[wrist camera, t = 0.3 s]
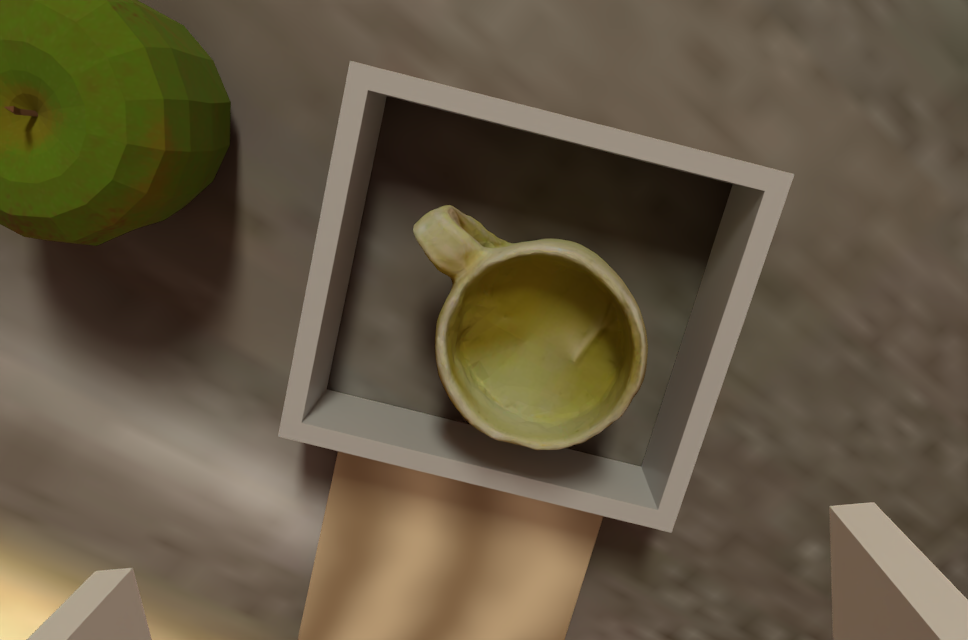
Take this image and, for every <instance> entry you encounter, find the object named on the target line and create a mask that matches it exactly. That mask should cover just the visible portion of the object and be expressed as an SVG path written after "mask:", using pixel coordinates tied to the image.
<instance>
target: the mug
mask: <svg viewBox="0 0 968 640" xmlns="http://www.w3.org/2000/svg"><path fill="white" fill-rule="evenodd" d="M413 233H414V235H415V237H416V240H417V241H418V243H419V245H420V246H421V247H422V249H423V250H424V252H425V254H426V255H427V257H428V258H429V260H430V261H431V262H432V263H433V264H434V266H435V267H436V268H437V269H438V270H439V271H440V272H442V273H444V274H446V275H448V276H449V277H450V278H451V279H452V284H453V286H452V289H451V292H450V294H449V295H448V297H447V299H446V301H445V303H444V305H443V307H442V309H441V312H440V314H439V317H438V320H437V324H436V334H435V356H436V363H437V369H438V374H439V377H440V379H441V382H442V384H443V386H444V388H445V391H446V393H447V395H448V396H449V398H450V400H451V402H452V403H453V405H454V406H455V407H456V409H457V410H458V411H459V412H460V413H461V415H462V416H463V417H464V418H465V419H466V420H467V421H468V422H469V423H470V424H471V425H472V426H473V427H475V428H476V429H477V430H479V431H480V432H482V433H484V434H486V435H487V436H489V437H491V438H493V439H495V440H498V441H504V442H508V443H513V444H517V445H521V446H525V447H529V448H532V449H535V450H559V449H563V448H566V447H570V446H572V445H576V444H580V443H583V442H585V441H587V440H588V439H590V438H592V437H593V436H595V435H597V434H599V433H600V432H602V431H603V430H604V429H605V428H607V427H608V426H610V425H611V424H612V423H613V422H614V421H616V420H617V419H619V418H620V417H621V416H622V415H623V413H624V412H625V411H626V409H627V408H628V406H629V405H630V403H631V401H632V399H633V397H634V396H635V395H636V394H637V392H638V391H639V389H640V387H641V385H642V382H643V380H644V376H645V371H646V365H647V352H648V344H647V335H646V329H645V325H644V322H643V318H642V315H641V312H640V309H639V307H638V305H637V303H636V301H635V299H634V297H633V296H632V294H631V293H630V291H629V289H628V288H627V286H626V285H625V283H624V282H623V280H622V279H621V278H620V277H619V276H618V274H617V273H616V272H615V271H614V270H613V269H612V268H611V267H610V266H609V265H608V264H607V263H606V262H605V261H604V260H603V259H602V258H600V257H599V256H598V255H597V254H596V253H594V252H593V251H591V250H589V249H588V248H586V247H584V246H582V245H580V244H578V243H576V242H572V241H568V240H562V239H553V238H549V239H540V240H534V241H526V242H520V243H508V242H506V241H504V240H502V239H500V238H497V237H496V236H495V235H494V234H493V233H491V232H489V231H487V230H486V229H485V228H484V227H483V225H482V224H481V223H480V222H478V221H477V220H475V219H474V218H472V217H471V216H467V215H465V214H463V213H462V212H460V211H459V210H458V209H456V208H454V207H453V206H451V205H446V206H442V207H440V208H438V209H435V210H431V211H430V212H428V213H427V214H425V215H424V216H423V217H422V218H421V219H420V220H419V221H418V222H417V223H416V224H415V225H414V229H413Z"/></svg>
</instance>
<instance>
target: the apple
mask: <svg viewBox="0 0 968 640" xmlns="http://www.w3.org/2000/svg"><path fill="white" fill-rule="evenodd" d="M230 106H231V102H230V100H229V97H228V95H227V92H226V90H225V88H224V85H223V83H222V81H221V78H220V76H219V74H218V71H217V69H216V66H215V64H214V62H213V60H212V59H211V58H210V56H209V55H208V54H207V53H206V52H205V50H204V49H203V48H202V47H201V46H200V45H199V43H198V42H197V41H196V40H195V39H194V37H193V36H192V35H191V34H190V33H189V31H188V30H187V29H186V28H185V27H184V26H183V25H181V24H180V23H178V22H176V21H174V20H172V19H170V18H169V17H167V16H165V15H163V14H161V13H159V12H158V11H156V10H154V9H152V8H150V7H148V6H147V5H145V4H143V3H141V2H139V1H138V0H0V224H1V225H3V226H5V227H7V228H9V229H11V230H12V231H14V232H16V233H18V234H20V235H22V236H24V237H29V238H35V239H41V240H48V241H57V242H66V243H75V244H85V245H94V246H97V245H99V244H102V243H104V242H106V241H109V240H111V239H113V238H116V237H118V236H120V235H123V234H125V233H127V232H130V231H132V230H134V229H137V228H140V227H143V226H147V225H150V224H153V223H156V222H160V221H163V220H165V219H167V218H168V217H170V216H171V215H173V214H174V213H176V212H177V211H179V210H180V209H182V208H184V207H185V206H186V205H187V204H188V203H189V202H190V201H192V200H193V199H194V198H195V197H196V196H197V195H198V194H199V193H200V192H201V191H203V190H204V189H205V188H206V187H207V186H208V185H209V184H210V183H211V182H213V180H214V178H215V175H216V173H217V171H218V169H219V167H220V165H221V163H222V160H223V158H224V156H225V154H226V152H227V150H228V148H229V145H230Z"/></svg>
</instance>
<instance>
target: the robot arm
mask: <svg viewBox="0 0 968 640" xmlns="http://www.w3.org/2000/svg"><path fill="white" fill-rule="evenodd" d="M830 544H831V582H832V621H833V640H968V600H967V599H966V598H965V597H964V596H963V595H962V594H961V592H960V591H959V590H958V589H957V588H956V587H955V586H954V585H953V584H952V583H951V582H950V581H949V580H948V579H947V578H946V577H945V576H944V575H943V574H942V573H941V572H940V571H939V570H938V569H937V568H936V567H935V565H934V564H933V563H932V562H931V561H930V560H929V559H928V558H927V557H926V556H925V555H924V554H923V553H922V552H921V551H920V550H919V549H918V548H917V547H916V546H915V545H914V544H913V543H912V542H911V541H910V540H909V538H908V537H907V536H906V535H905V534H904V533H903V532H902V531H901V530H900V529H899V528H898V527H897V526H896V525H895V524H894V523H893V522H892V521H891V520H890V519H889V518H888V517H887V516H886V515H885V514H884V512H883V511H882V510H881V509H880V508H879V507H878V506H877V505H876V504H875V503H874V502H871V503H860V504H849V505H837V506H830ZM27 640H152V639H151V635H150V632H149V628H148V624H147V620H146V616H145V613H144V609H143V605H142V601H141V597H140V593H139V590H138V586H137V582H136V578H135V574H134V571H133V568H125V569H114V570H103V571H95V572H94V573H93V574H92V575H91V576H90V577H89V578H88V579H87V580H86V581H85V582H84V583H83V584H82V585H81V586H80V587H79V588H78V589H77V590H76V591H75V592H74V593H73V594H72V595H71V596H70V597H69V598H68V599H67V600H66V601H65V602H64V603H63V604H62V605H61V606H60V607H59V608H58V609H57V610H56V611H55V612H54V613H53V614H52V615H51V616H50V617H49V618H48V619H47V620H46V621H45V622H44V623H43V624H42V625H41V626H40V627H39V628H38V629H37V630H36V631H35V632H34V633H33V634H32V635H31V636H30V637H29V638H28V639H27Z"/></svg>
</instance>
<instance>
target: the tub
mask: <svg viewBox="0 0 968 640" xmlns="http://www.w3.org/2000/svg"><path fill="white" fill-rule="evenodd" d="M387 96H388V97H392V98H396V99H400V100H404V101H408V102H411V103H415V104H419V105H423V106H427V107H431V108H435V109H439V110H443V111H447V112H451V113H455V114H459V115H463V116H466V117H470V118H474V119H478V120H482V121H486V122H490V123H494V124H498V125H502V126H506V127H510V128H514V129H518V130H521V131H525V132H529V133H533V134H537V135H541V136H545V137H549V138H553V139H557V140H561V141H565V142H569V143H573V144H576V145H580V146H584V147H588V148H592V149H596V150H600V151H604V152H608V153H612V154H616V155H620V156H624V157H628V158H631V159H635V160H639V161H643V162H647V163H651V164H655V165H659V166H663V167H667V168H671V169H675V170H679V171H683V172H686V173H690V174H694V175H698V176H702V177H706V178H710V179H714V180H718V181H722V182H726V183H730V184H733V185H732V188H731V191H730V194H729V197H728V200H727V203H726V206H725V209H724V213H723V216H722V219H721V222H720V225H719V228H718V231H717V234H716V237H715V240H714V243H713V247H712V250H711V253H710V256H709V259H708V262H707V265H706V268H705V271H704V274H703V277H702V280H701V284H700V287H699V290H698V293H697V296H696V299H695V302H694V305H693V308H692V311H691V314H690V318H689V321H688V324H687V327H686V330H685V333H684V336H683V339H682V342H681V345H680V348H679V351H678V355H677V358H676V361H675V364H674V367H673V370H672V373H671V376H670V379H669V382H668V385H667V388H666V392H665V395H664V398H663V401H662V404H661V407H660V410H659V413H658V416H657V419H656V422H655V426H654V429H653V432H652V435H651V438H650V441H649V444H648V447H647V450H646V453H645V456H644V459H643V463H642V466H641V467H640V466H636V465H632V464H628V463H624V462H620V461H616V460H612V459H608V458H604V457H599V456H595V455H591V454H587V453H583V452H579V451H575V450H571V449H567V448H563V449H559V450H535V449H532V448H529V447H525V446H521V445H517V444H513V443H508V442H504V441H498V440H495V439H493V438H491V437H489V436H487V435H486V434H484V433H482V432H480V431H479V430H477V429H476V428H475V427H473V426H472V425H470V424H466V423H461V422H457V421H453V420H449V419H445V418H441V417H437V416H433V415H429V414H425V413H421V412H417V411H413V410H409V409H405V408H401V407H396V406H392V405H388V404H384V403H380V402H376V401H372V400H368V399H364V398H360V397H356V396H352V395H348V394H344V393H340V392H336V391H332V390H327V385H328V380H329V376H330V371H331V366H332V361H333V356H334V351H335V346H336V341H337V337H338V332H339V327H340V322H341V317H342V312H343V307H344V303H345V298H346V293H347V288H348V283H349V278H350V273H351V268H352V264H353V259H354V254H355V249H356V244H357V239H358V234H359V230H360V225H361V220H362V215H363V210H364V205H365V200H366V195H367V191H368V186H369V181H370V176H371V171H372V166H373V161H374V157H375V152H376V147H377V142H378V137H379V132H380V127H381V123H382V118H383V113H384V108H385V103H386V98H387ZM793 177H794V174H792V173H788V172H784V171H780V170H776V169H772V168H768V167H764V166H760V165H756V164H752V163H749V162H745V161H741V160H737V159H733V158H729V157H725V156H721V155H717V154H713V153H709V152H705V151H702V150H698V149H694V148H690V147H686V146H682V145H678V144H674V143H670V142H666V141H662V140H658V139H654V138H651V137H647V136H643V135H639V134H635V133H631V132H627V131H623V130H619V129H615V128H611V127H607V126H604V125H600V124H596V123H592V122H588V121H584V120H580V119H576V118H572V117H568V116H564V115H560V114H557V113H553V112H549V111H545V110H541V109H537V108H533V107H529V106H525V105H521V104H517V103H513V102H510V101H506V100H502V99H498V98H494V97H490V96H486V95H482V94H478V93H474V92H470V91H466V90H462V89H459V88H455V87H451V86H447V85H443V84H439V83H435V82H431V81H427V80H423V79H419V78H415V77H412V76H408V75H404V74H400V73H396V72H392V71H388V70H384V69H380V68H376V67H372V66H368V65H365V64H361V63H357V62H353V61H350V64H349V69H348V74H347V79H346V85H345V90H344V95H343V100H342V106H341V111H340V116H339V121H338V126H337V132H336V137H335V142H334V147H333V152H332V158H331V163H330V168H329V173H328V179H327V184H326V189H325V194H324V199H323V205H322V210H321V215H320V220H319V225H318V231H317V236H316V241H315V246H314V252H313V257H312V262H311V267H310V272H309V278H308V283H307V288H306V293H305V299H304V304H303V309H302V314H301V319H300V325H299V330H298V335H297V340H296V345H295V351H294V356H293V361H292V366H291V372H290V377H289V382H288V387H287V392H286V398H285V403H284V408H283V413H282V419H281V424H280V429H279V434H278V437H282V438H287V439H291V440H295V441H299V442H303V443H307V444H311V445H315V446H319V447H323V448H327V449H331V450H336V451H340V452H344V453H348V454H352V455H356V456H360V457H364V458H368V459H372V460H376V461H381V462H385V463H389V464H393V465H397V466H401V467H405V468H409V469H413V470H417V471H421V472H425V473H430V474H434V475H438V476H442V477H446V478H450V479H454V480H458V481H462V482H466V483H470V484H474V485H479V486H483V487H487V488H491V489H495V490H499V491H503V492H507V493H511V494H515V495H519V496H524V497H528V498H532V499H536V500H540V501H544V502H548V503H552V504H556V505H560V506H564V507H568V508H573V509H577V510H581V511H585V512H589V513H593V514H597V515H601V516H605V517H609V518H613V519H618V520H622V521H626V522H630V523H634V524H638V525H642V526H646V527H650V528H654V529H658V530H662V531H667V532H672V530H673V527H674V524H675V521H676V518H677V515H678V512H679V509H680V506H681V503H682V500H683V497H684V495H685V492H686V489H687V486H688V483H689V480H690V477H691V474H692V471H693V468H694V465H695V462H696V460H697V457H698V454H699V451H700V448H701V445H702V442H703V439H704V436H705V433H706V430H707V427H708V425H709V422H710V419H711V416H712V413H713V410H714V407H715V404H716V401H717V398H718V395H719V393H720V390H721V387H722V384H723V381H724V378H725V375H726V372H727V369H728V366H729V363H730V360H731V358H732V355H733V352H734V349H735V346H736V343H737V340H738V337H739V334H740V331H741V328H742V325H743V323H744V320H745V317H746V314H747V311H748V308H749V305H750V302H751V299H752V296H753V293H754V290H755V288H756V285H757V282H758V279H759V276H760V273H761V270H762V267H763V264H764V261H765V258H766V255H767V253H768V250H769V247H770V244H771V241H772V238H773V235H774V232H775V229H776V226H777V223H778V220H779V218H780V215H781V212H782V209H783V206H784V203H785V200H786V197H787V194H788V191H789V188H790V186H791V183H792V180H793Z"/></svg>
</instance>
